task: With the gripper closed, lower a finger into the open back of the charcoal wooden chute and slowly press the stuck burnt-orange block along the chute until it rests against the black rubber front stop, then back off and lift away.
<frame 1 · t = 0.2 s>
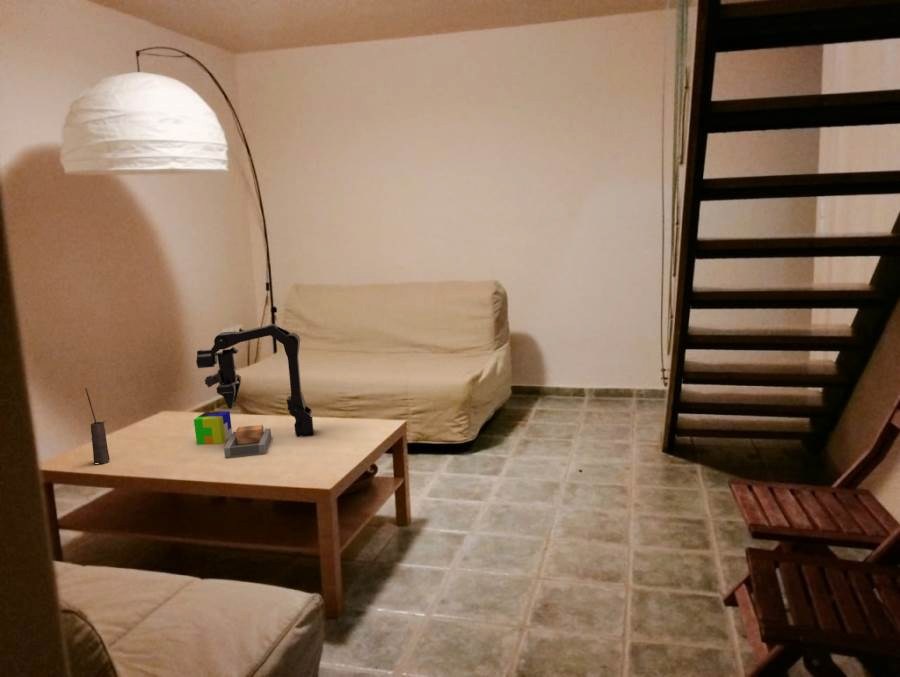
hand: (232, 405, 265), 14 cm above the table, tool pointing down, fingers open, 9 cm apart
puzzle toy: (215, 440, 270), on the table
orange block: (250, 434, 262), point 3 cm above the table, slide at -5.0 cm
chute: (249, 447, 258), on the table
butter churn: (105, 462, 251), on the table
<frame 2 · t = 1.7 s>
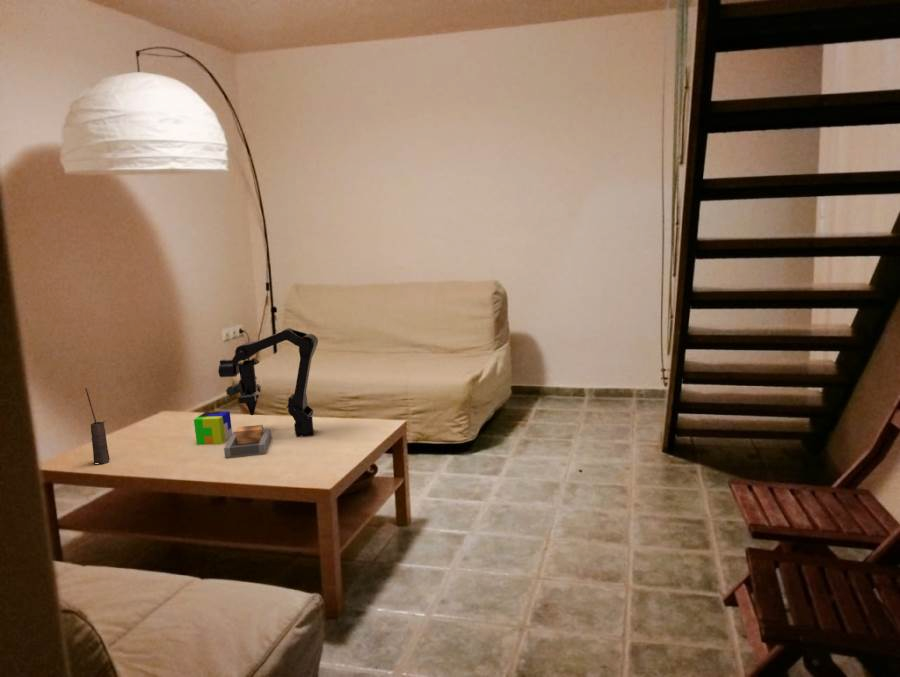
hand: (252, 414, 270), 9 cm above the table, tool pointing down, fingers closed
nothing on the table moved.
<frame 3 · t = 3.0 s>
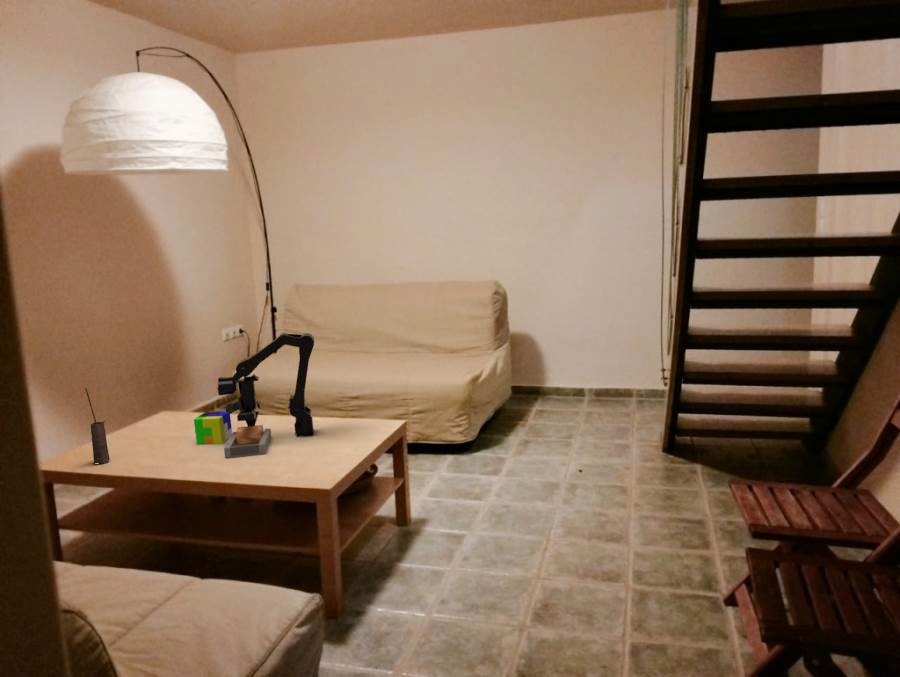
hand: (251, 432, 266), 3 cm above the table, tool pointing down, fingers closed
orange block: (250, 434, 262), point 3 cm above the table, slide at -4.6 cm, touching gripper
everything else where it was.
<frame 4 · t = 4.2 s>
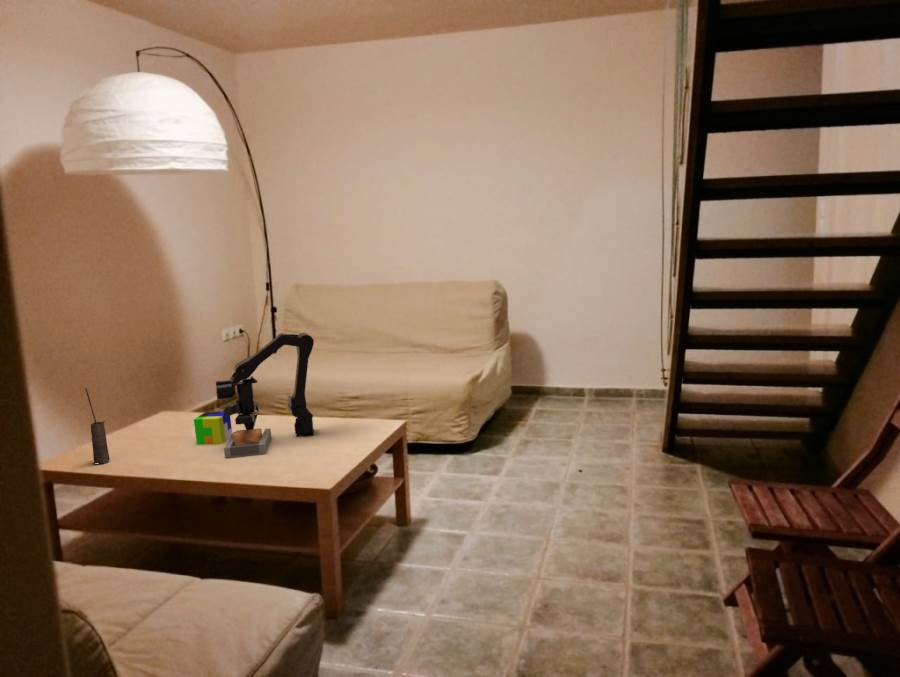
hand: (250, 435, 262), 3 cm above the table, tool pointing down, fingers closed
orange block: (248, 438, 257), point 3 cm above the table, slide at -0.3 cm, touching gripper
everything else where it was.
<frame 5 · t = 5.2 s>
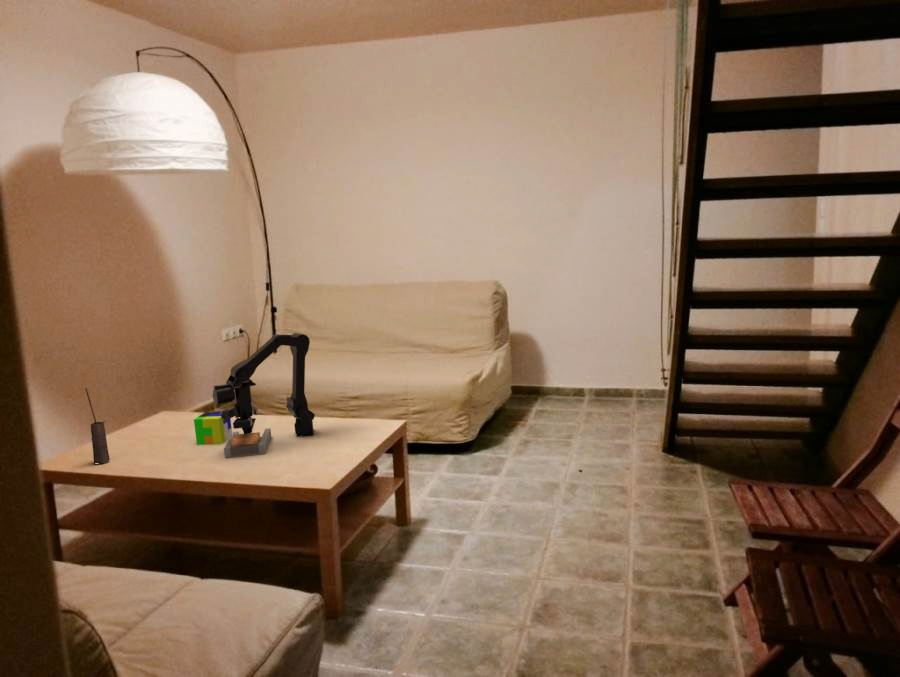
hand: (248, 439, 257), 3 cm above the table, tool pointing down, fingers closed
orange block: (246, 442, 253), point 3 cm above the table, slide at 4.8 cm, touching gripper
everything else where it was.
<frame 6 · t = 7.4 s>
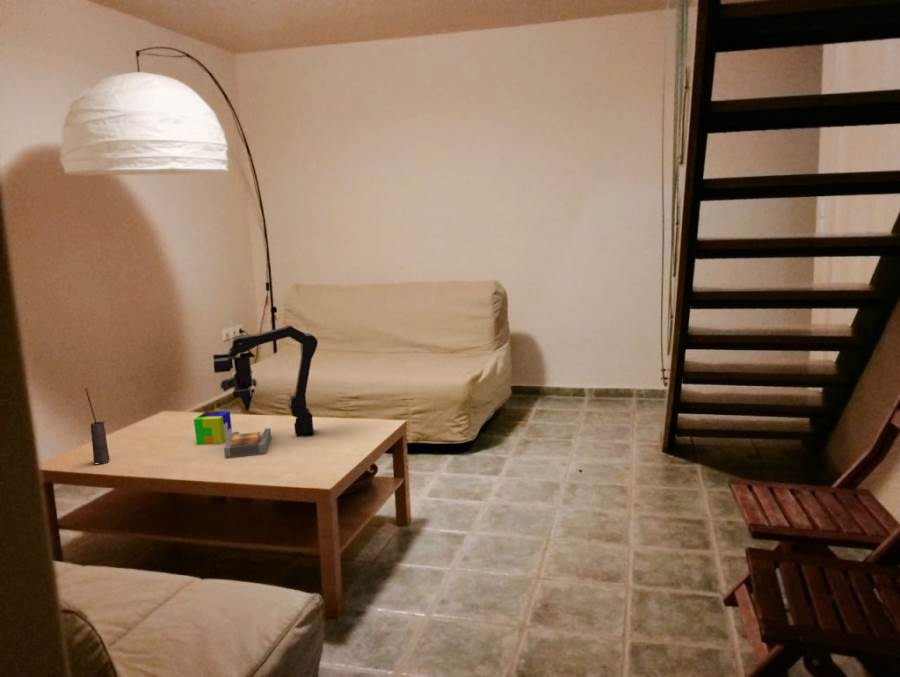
hand: (247, 409, 261), 13 cm above the table, tool pointing down, fingers closed
orange block: (246, 442, 253), point 3 cm above the table, slide at 4.7 cm
everything else where it was.
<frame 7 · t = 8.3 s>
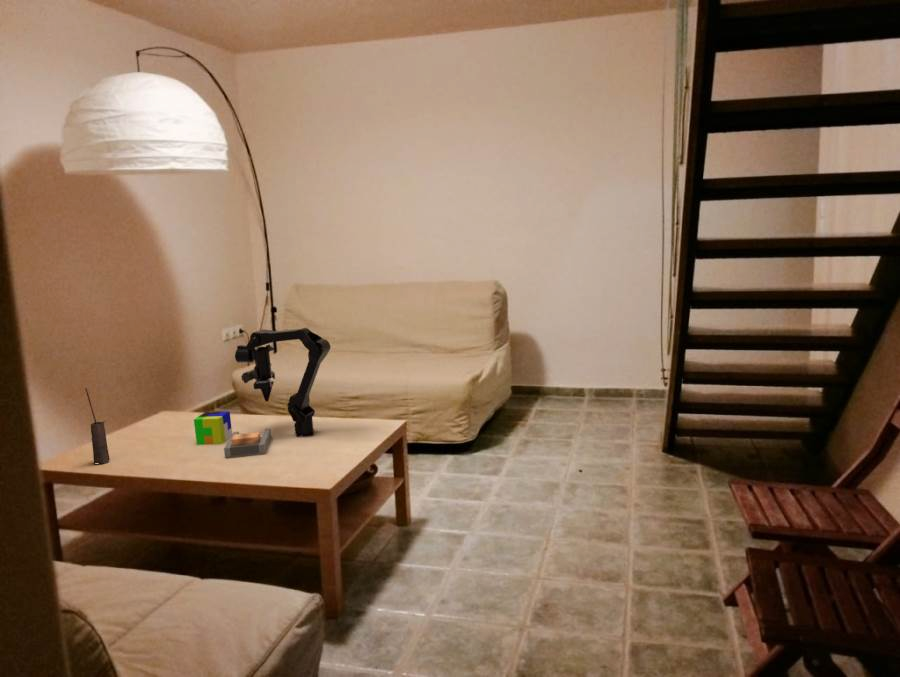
hand: (267, 401, 272), 13 cm above the table, tool pointing down, fingers closed
nothing on the table moved.
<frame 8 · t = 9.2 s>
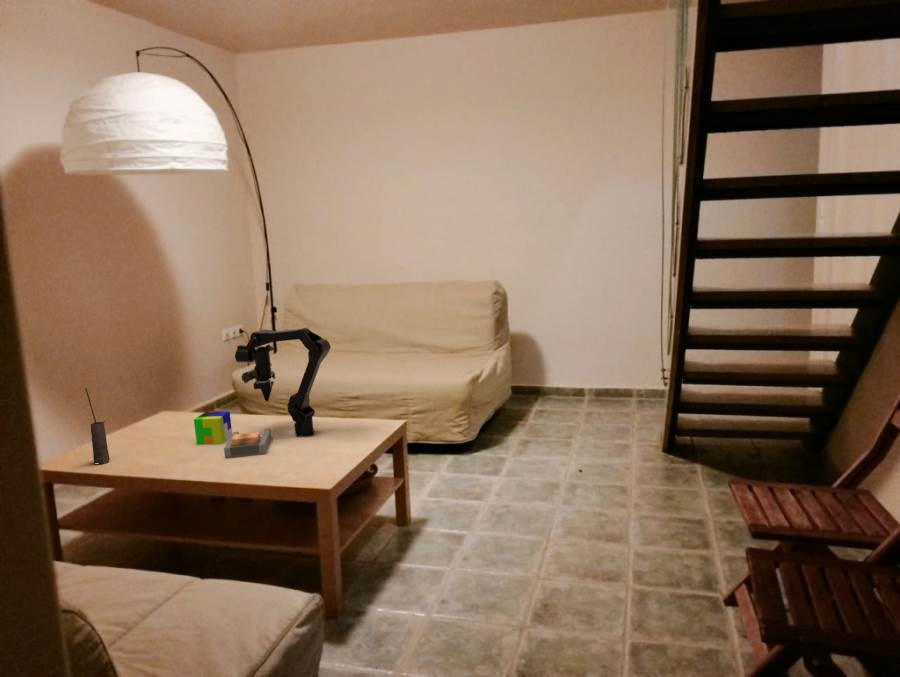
hand: (267, 401, 272), 13 cm above the table, tool pointing down, fingers closed
nothing on the table moved.
at the end: orange block slide at 4.7 cm; puzzle toy moved 0.3 cm from its start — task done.
